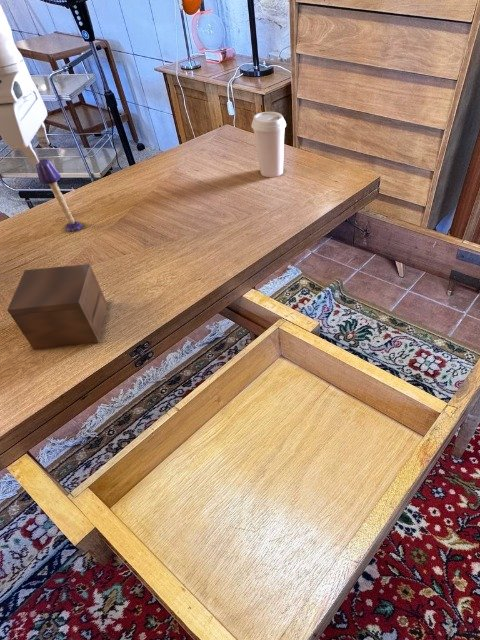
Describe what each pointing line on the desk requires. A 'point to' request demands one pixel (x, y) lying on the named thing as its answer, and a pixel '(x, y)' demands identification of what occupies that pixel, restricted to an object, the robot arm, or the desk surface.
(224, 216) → the desk surface
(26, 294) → the lidded wooden box
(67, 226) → the toy lamp
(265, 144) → the coffee cup
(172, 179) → the desk surface
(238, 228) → the desk surface
